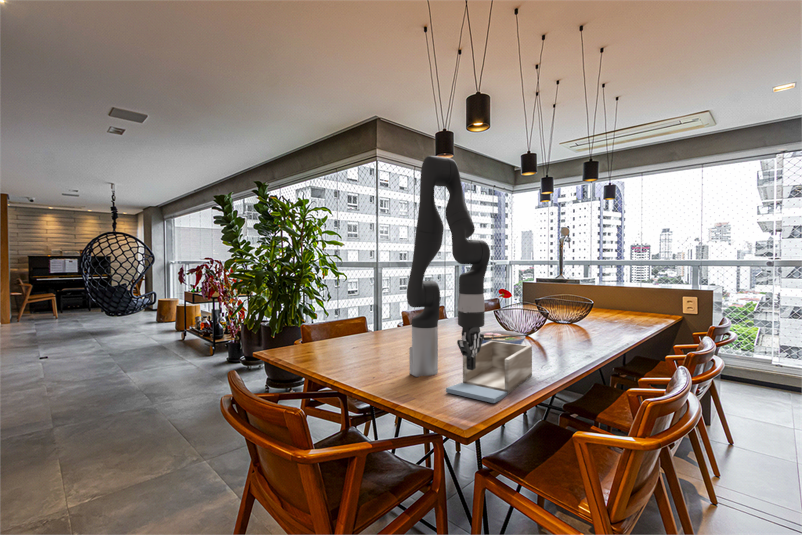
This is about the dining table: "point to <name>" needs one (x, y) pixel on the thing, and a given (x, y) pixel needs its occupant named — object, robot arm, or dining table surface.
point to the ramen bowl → (503, 336)
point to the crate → (500, 366)
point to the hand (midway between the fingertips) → (470, 369)
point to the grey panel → (477, 392)
